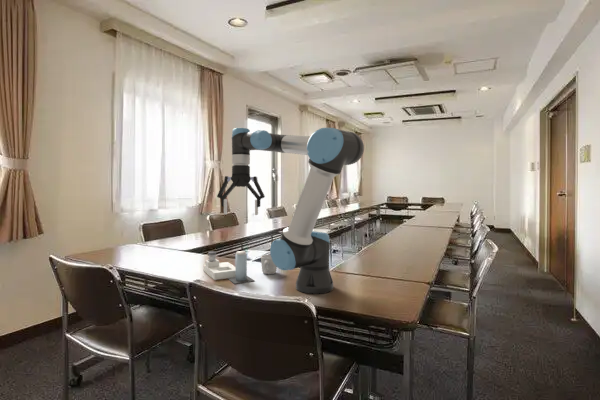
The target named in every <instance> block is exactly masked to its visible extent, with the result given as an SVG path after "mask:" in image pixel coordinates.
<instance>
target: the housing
mask: <svg viewBox="0 0 600 400" xmlns="http://www.w3.org/2000/svg"><path fill="white" fill-rule="evenodd" d="M204 261H205V262H204V263H205V264H203V267H202V269H203V272H204V273H205V274H207V275H208V276H209V277H210V278H211V279H212V280H213V281H216V280H223V279H228V278H233V277H236V265H233V264H232V263H230V262H228V261H224V262H223V261H222V262H220V260H219V259H217V258H216V261H212V262H209V259H205V260H204Z"/></svg>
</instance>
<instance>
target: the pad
mask: <svg viewBox="0 0 600 400" xmlns="http://www.w3.org/2000/svg"><path fill="white" fill-rule="evenodd" d="M227 280H228V281H229V282H231V283H232V284H233V285H240V284H246V283H253V282H255V279H253V278H252V277H250V276H248V275H247V280H244V281H237V280H236V277H232V278H227Z"/></svg>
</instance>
